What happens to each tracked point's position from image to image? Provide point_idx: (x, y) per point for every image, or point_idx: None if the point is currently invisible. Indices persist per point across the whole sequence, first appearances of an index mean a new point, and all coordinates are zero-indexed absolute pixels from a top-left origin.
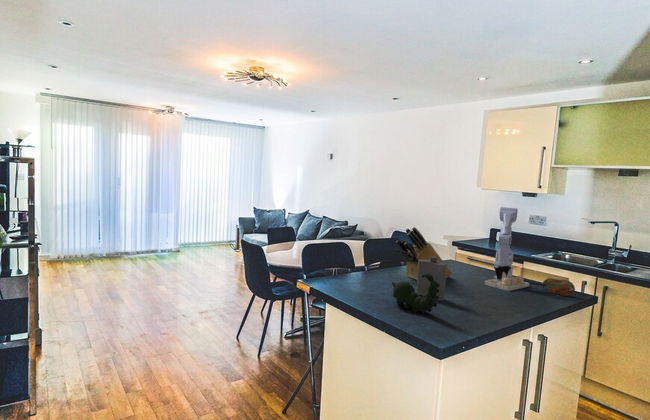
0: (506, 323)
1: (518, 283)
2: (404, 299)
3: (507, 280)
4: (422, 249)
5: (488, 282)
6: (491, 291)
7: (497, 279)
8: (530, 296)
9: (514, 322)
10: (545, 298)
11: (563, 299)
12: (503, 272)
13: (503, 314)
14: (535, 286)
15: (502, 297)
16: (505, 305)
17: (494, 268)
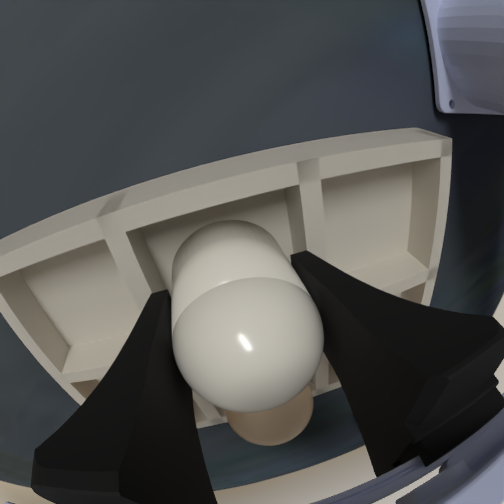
0: (4, 479)
1: (316, 378)
2: None
3: None
4: None
5: (5, 308)
6: (8, 379)
7: (174, 270)
8: (206, 449)
9: (19, 484)
10: (256, 457)
11: (321, 450)
12: (257, 411)
13: (6, 471)
14: (452, 304)
15: (39, 437)
16: (25, 462)
17: (48, 450)
